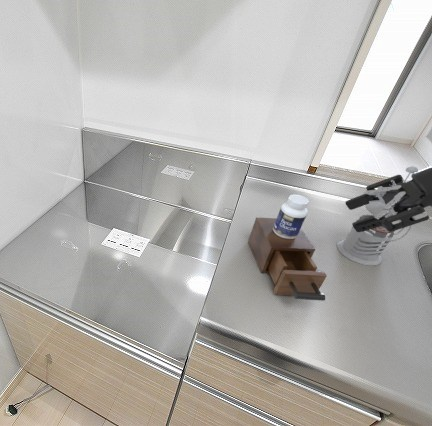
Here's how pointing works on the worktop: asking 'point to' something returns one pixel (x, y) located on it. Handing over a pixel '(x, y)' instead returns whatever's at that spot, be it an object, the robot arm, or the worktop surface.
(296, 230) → the pill bottle
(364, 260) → the french press
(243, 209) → the worktop surface
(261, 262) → the cabinet
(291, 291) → the drawer
